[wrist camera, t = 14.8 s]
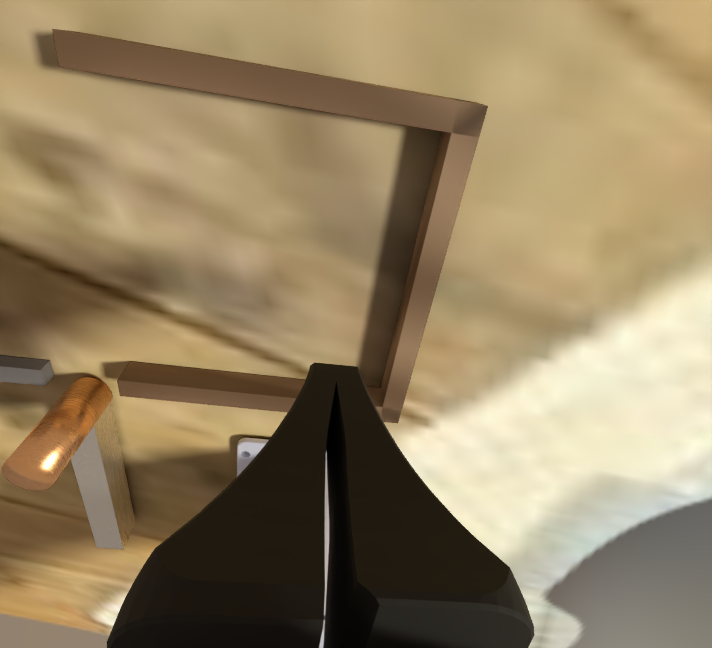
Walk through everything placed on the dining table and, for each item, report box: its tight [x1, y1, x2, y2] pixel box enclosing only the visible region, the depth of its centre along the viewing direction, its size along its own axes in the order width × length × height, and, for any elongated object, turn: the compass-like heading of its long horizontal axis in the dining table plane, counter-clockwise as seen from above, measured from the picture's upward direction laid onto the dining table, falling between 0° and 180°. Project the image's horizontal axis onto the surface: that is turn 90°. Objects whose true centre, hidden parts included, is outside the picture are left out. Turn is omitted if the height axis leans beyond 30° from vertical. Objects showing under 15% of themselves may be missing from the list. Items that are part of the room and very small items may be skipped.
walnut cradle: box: [52, 29, 488, 423], centre depth 18 cm, size 15×14×2 cm
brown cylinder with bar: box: [2, 377, 135, 549], centre depth 22 cm, size 12×2×5 cm, turn 171°
